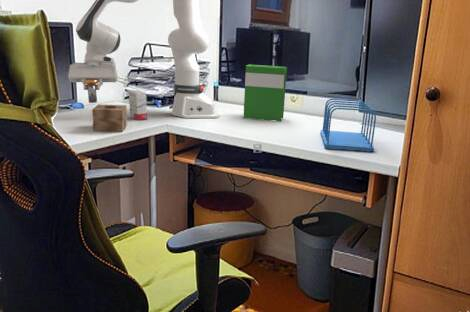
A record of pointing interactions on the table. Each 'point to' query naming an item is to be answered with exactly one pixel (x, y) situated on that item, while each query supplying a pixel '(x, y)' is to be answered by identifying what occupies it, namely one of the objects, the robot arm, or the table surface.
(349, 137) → the file sorter
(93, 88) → the pin
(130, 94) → the ink box
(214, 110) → the robot arm
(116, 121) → the block
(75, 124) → the table surface
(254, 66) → the green cereal box
